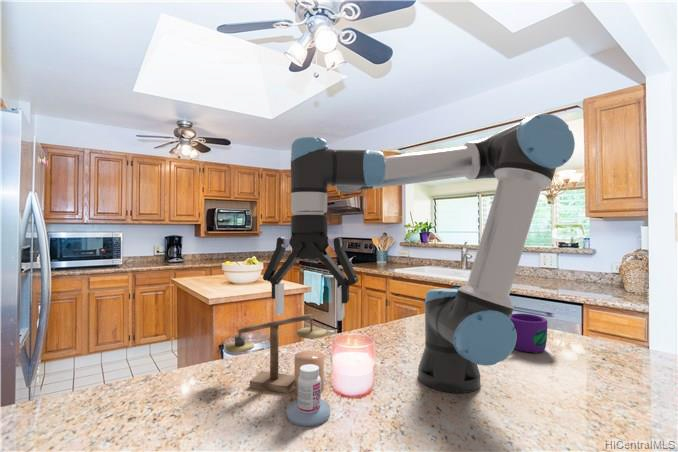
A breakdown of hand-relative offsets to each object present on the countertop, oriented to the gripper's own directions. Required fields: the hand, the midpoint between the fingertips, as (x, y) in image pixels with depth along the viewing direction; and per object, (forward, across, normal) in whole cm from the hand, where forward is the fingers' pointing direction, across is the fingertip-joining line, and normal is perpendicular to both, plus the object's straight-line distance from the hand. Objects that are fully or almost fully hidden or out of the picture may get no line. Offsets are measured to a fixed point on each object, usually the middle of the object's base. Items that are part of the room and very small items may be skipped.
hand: (309, 316), depth 73 cm
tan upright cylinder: (+20, +4, -10) cm, 23 cm away
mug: (+21, -50, -56) cm, 78 cm away
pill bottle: (+19, 0, 0) cm, 19 cm away
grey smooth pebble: (+20, 0, 0) cm, 20 cm away
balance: (+20, +13, -10) cm, 26 cm away
